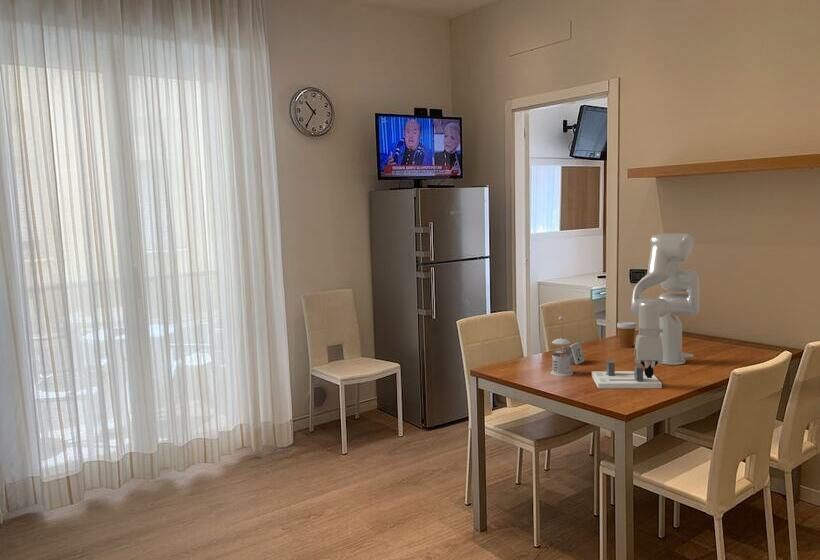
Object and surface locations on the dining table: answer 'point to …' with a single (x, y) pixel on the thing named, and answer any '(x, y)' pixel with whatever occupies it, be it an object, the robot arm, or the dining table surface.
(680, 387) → the dining table surface
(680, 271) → the robot arm
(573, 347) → the electrical switch
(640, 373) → the handle
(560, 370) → the french press
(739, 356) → the dining table surface
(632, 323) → the disposable coffee cup
